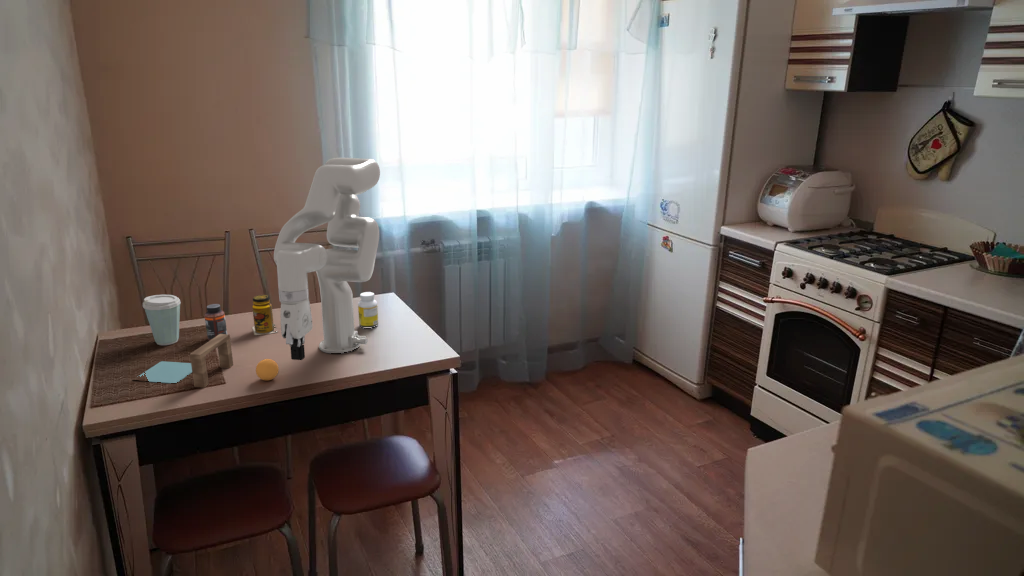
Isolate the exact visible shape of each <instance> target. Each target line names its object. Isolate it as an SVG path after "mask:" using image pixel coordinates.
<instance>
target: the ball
mask: <svg viewBox="0 0 1024 576" xmlns="http://www.w3.org/2000/svg"><path fill="white" fill-rule="evenodd" d="M255 373H256V375H257V377H258V378H259V380H262V381H271V380H273V379H275V378H276V377H277V376H278V374H279V365H278V363H277V362H276V361H275V360H274V359H270V358H265V359H262V360H260V361H259V362H257V364H256V367H255Z"/></svg>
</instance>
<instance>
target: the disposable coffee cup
mask: <svg viewBox="0 0 1024 576" xmlns="http://www.w3.org/2000/svg"><path fill="white" fill-rule="evenodd" d="M181 303H182V302H181V299H180V298H179V297H177V295H173V294H155V295H150V296H146V297H145V298H144V299H143V302H142V308H143V309H144V311H145V314H146V317H147V320H148V324H149V327H150V329H151V332H152V337H153V338H154V342H155V343H156V345H159V346H169V345H173V344H175V343H177V342H178V341H179V338H180V315H181V312H180V311H181Z"/></svg>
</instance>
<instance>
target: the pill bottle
mask: <svg viewBox="0 0 1024 576" xmlns="http://www.w3.org/2000/svg"><path fill="white" fill-rule="evenodd" d="M359 299H360V300H359V301H358V303H357V308H358V309H357V310H358V324H359V327H360V326H361V327H374V326H376V325H378V326H379V312H378V311H379V310H378V309H379V308H378V307H379V306H378V302H377V300H376V299H375V293H374V292H371V291H365V292H361V293H360V294H359ZM361 327H360V328H361Z"/></svg>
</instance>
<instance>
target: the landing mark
mask: <svg viewBox="0 0 1024 576" xmlns="http://www.w3.org/2000/svg"><path fill="white" fill-rule="evenodd" d="M144 372H145V373H146V374H145V373H144ZM144 372H142V373H141V374H140V375H138V376H140V377H141V376H142V375H143V376H144V374H145V375H146V377H147V379H148V381H149V382H148V383H157V382H161V384H171V383H177V382H178V383H179V382H181V381H182V380H183V379H185V378H186V377H188V376H189V375H191V374H192V366H191V362H178V361H164V360H162V361H159V362H158V363H156V364H155V365H153V366H151V367H150V368H148V369H147V370H145V371H144ZM187 375H188V376H187ZM180 380H181V381H180ZM178 383H177V384H178Z"/></svg>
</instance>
